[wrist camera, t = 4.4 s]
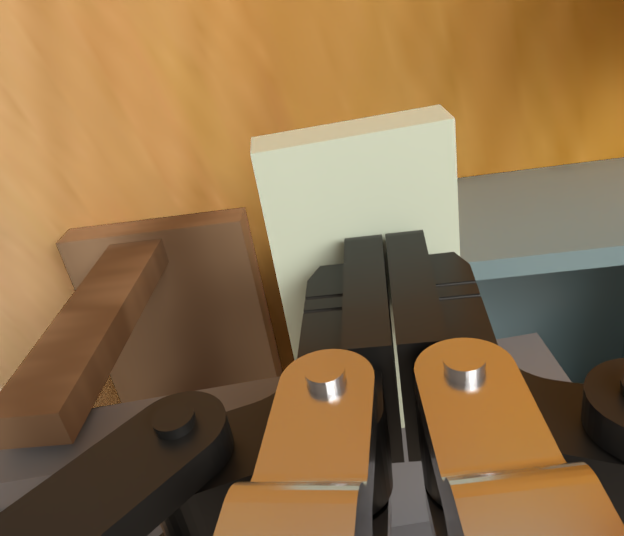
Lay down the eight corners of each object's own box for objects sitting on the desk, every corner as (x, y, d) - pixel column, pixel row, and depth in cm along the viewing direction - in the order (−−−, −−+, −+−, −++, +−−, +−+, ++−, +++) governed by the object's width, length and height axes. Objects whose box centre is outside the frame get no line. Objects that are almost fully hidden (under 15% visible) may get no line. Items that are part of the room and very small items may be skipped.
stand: (144, 419, 28) (50, 647, 19) (68, 229, 23) (-104, 417, 14) (290, 407, 27) (264, 640, 18) (244, 207, 22) (178, 392, 13)
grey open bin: (387, 401, 27) (414, 705, 16) (362, 189, 22) (376, 434, 11) (627, 381, 25) (822, 697, 15) (658, 152, 20) (981, 387, 10)
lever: (13, 585, 19) (-21, 670, 17) (-240, 202, 13) (-349, 258, 10) (530, 498, 19) (566, 573, 17) (546, 64, 13) (609, 91, 10)
